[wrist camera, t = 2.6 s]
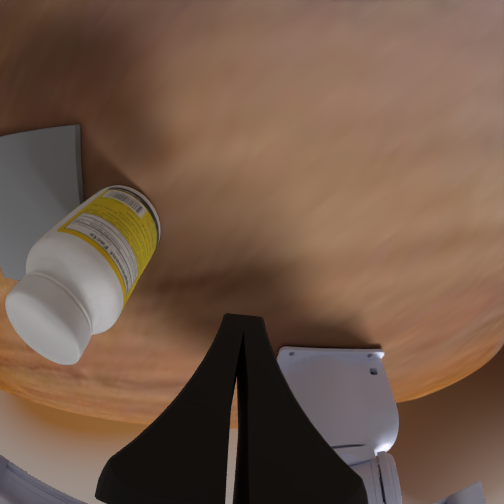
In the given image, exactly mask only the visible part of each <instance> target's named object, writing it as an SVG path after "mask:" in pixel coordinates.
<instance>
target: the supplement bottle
mask: <svg viewBox="0 0 504 504" xmlns="http://www.w3.org/2000/svg"><path fill="white" fill-rule="evenodd" d="M160 232H161V230H160V221H159V218H158V215H157V212H156V210H155V208H154V207H153V205H152V204H151V202H150V201H149V200H148V199H147V198H146V197H145V196H144V195H143V194H141V193H140V192H138V191H137V190H135V189H133V188H130V187H127V186H121V185H115V186H109V187H106V188H104V189H102V190H100V191H99V192H97V193H96V194H94V195H93V196H91V197H90V198H89V199H87V200H86V201H85V202H83V203H82V204H81V205H79V206H78V207H77V208H76V209H74V210H73V211H72V212H71V213H69V214H68V215H67V216H66V217H64V218H63V219H62V220H61V221H60V222H58V223H57V224H56V225H55V226H54V227H53V228H51V229H50V230H49V231H48V232H47V233H46V234H44V235H43V236H42V237H41V238H40V239H39V240H38V241H37V242H36V243H35V244H34V245H33V247H32V248H31V250H30V252H29V254H28V257H27V261H26V275H25V276H24V277H23V278H22V279H21V280H20V281H19V282H18V283H17V284H16V285H15V287H14V288H13V289H12V290H11V291H10V293H9V294H8V295H7V298H6V302H5V307H6V312H7V315H8V318H9V320H10V322H11V324H12V326H13V327H14V329H15V330H16V332H17V333H18V334H19V336H20V337H21V338H22V339H23V340H24V341H25V342H26V343H27V344H28V345H29V346H30V347H31V348H32V349H34V350H35V351H36V352H37V353H39V354H40V355H42V356H44V357H45V358H47V359H49V360H51V361H53V362H56V363H59V364H64V365H71V364H75V363H76V362H78V360H79V359H80V358H81V356H82V354H83V352H84V350H85V348H86V346H87V345H88V343H89V341H90V338H91V336H92V335H93V334H99V333H102V332H104V331H106V330H108V329H109V328H110V327H112V326H113V325H114V323H115V322H116V321H117V319H118V317H119V316H120V314H121V312H122V310H123V308H124V306H125V304H126V302H127V300H128V298H129V297H130V295H131V293H132V291H133V289H134V287H135V285H136V284H137V282H138V280H139V278H140V276H141V275H142V273H143V271H144V269H145V267H146V266H147V264H148V262H149V260H150V259H151V257H152V255H153V253H154V252H155V250H156V248H157V246H158V243H159V240H160Z"/></svg>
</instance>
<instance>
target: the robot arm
mask: <svg viewBox="0 0 504 504" xmlns="http://www.w3.org/2000/svg"><path fill="white" fill-rule="evenodd" d="M383 356H384V351H383V349H329V348H304V347H287V346H286V347H282V348H280V350H279V353H278V356H277V360H276V357H275V355H274V352H273V350H272V347H271V344H270V341H269V338H268V335H267V332H266V328H265V324H264V319H263V318H262V317H257V316H247V315H238V314H229V313H227V314H225V315H224V317H223V320H222V323H221V326H220V328H219V331H218V333H217V335H216V337H215V339H214V341H213V343H212V345H211V347H210V348H209V350H208V352H207V354H206V356H205V357H204V359H203V361H202V362H201V364H200V365H199V367H198V368H197V370H196V371H195V373H194V374H193V376H192V377H191V379H190V380H189V381H188V383H187V384H186V385H185V387H184V388H183V389H182V391H181V392H180V393H179V394H178V396H177V397H176V398H175V399H174V400H173V401H172V403H171V404H170V405H169V406H168V407H167V408H166V409H165V410H164V412H163V413H162V414H161V415H160V416H159V417H158V418H157V419H156V420H155V421H154V422H153V423H152V424H150V425H149V426H148V427H147V428H146V429H145V430H144V431H143V432H142V433H141V434H140V435H139V436H138V437H137V438H135V439H134V440H133V441H132V442H130V443H129V444H128V445H126V446H125V447H124V448H123V449H121V450H120V451H119V452H117V453H116V454H115V455H113V456H112V457H111V458H110V459H109V460H108V462H107V463H106V465H105V467H104V468H103V470H102V473H101V475H100V477H99V480H98V484H97V488H96V493H95V497H96V499H98V500H100V501H102V502H104V503H107V504H225V494H226V476H227V460H228V443H229V429H230V415H231V405H232V399H233V394H234V389H235V383H236V378H237V399H238V443H237V457H236V470H235V482H234V494H233V504H383V502H384V504H402V497H401V490H400V484H399V478H398V474H397V469H396V465H395V462H394V459H393V456H392V455H390V454H388V453H386V452H387V451H388V450H389V449H390V448H391V447H392V445H393V444H394V442H395V440H396V437H397V433H398V426H399V417H398V410H397V407H396V403H395V400H394V397H393V393H392V390H391V387H390V384H389V381H388V378H387V375H386V372H385V369H384V366H383V363H382V360H381V359H382V357H383ZM375 456H378V462H379V464H378V467H379V472H380V477H379V473H378V468H377V463H376V457H375ZM0 504H87V503H85V502H82V501H80V500H77V499H75V498H73V497H71V496H69V495H67V494H65V493H63V492H60V491H59V490H56V489H55V488H53V487H51V486H49V485H47V484H45V483H43V482H42V481H40V480H38V479H36V478H34V477H33V476H31V475H30V474H28V473H27V472H26V471H24V470H22V469H21V468H19V467H18V466H16V465H15V464H13V463H12V462H10V461H9V460H7V459H5V458H4V457H3V456H1V455H0ZM432 504H486V503H485V498H484V494H483V489H482V485H481V481H477V482H475V483H474V484H472V485H470V486H468V487H466V488H464V489H462V490H460V491H458V492H456V493H454V494H452V495H450V496H448V497H445V498H443V499H441V500H439V501H436V502H434V503H432Z"/></svg>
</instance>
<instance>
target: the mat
mask: <svg viewBox="0 0 504 504" xmlns="http://www.w3.org/2000/svg"><path fill="white" fill-rule="evenodd" d="M83 202H85V201H84V192H83V180H82V165H81V136H80V124H75V125H66V126H58V127H50V128H43V129H36V130H30V131H24V132H19V133H14V134H9V135H4V136H0V266H1V269H2V272H3V275H4V277H7V278H10V279H14V280H17V281H20V280H21V279H22V278H23V277H24V276H25V275H26V261H27V257H28V254H29V252H30V250H31V248H32V247H33V245H34V244H35V243H36V242H37V241H38V240H39V239H40V238H41V237H42V236H43V235H44V234H46V233H47V232H48V231H49V230H50V229H51V228H53V227H54V226H55V225H56V224H57V223H58V222H60V221H61V220H62V219H63V218H64V217H66V216H67V215H68V214H69V213H71V212H72V211H73V210H74V209H76V208H77V207H78V206H79V205H81V204H82V203H83Z"/></svg>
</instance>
